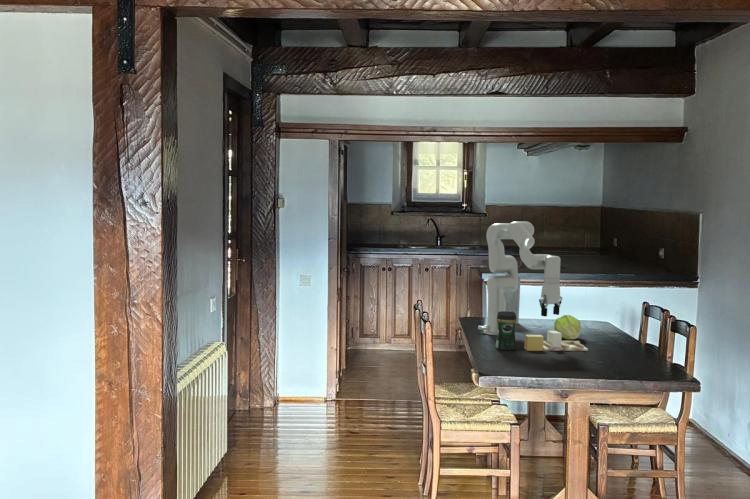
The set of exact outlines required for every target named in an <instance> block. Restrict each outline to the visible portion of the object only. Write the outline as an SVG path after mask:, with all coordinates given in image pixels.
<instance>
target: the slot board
mask: <svg viewBox="0 0 750 499" xmlns="http://www.w3.org/2000/svg"><path fill="white" fill-rule="evenodd" d="M543 351H548V352H549V351H550V352H551V351H561V352H562V351H564V352H565V351H567V352H568V351H569V352H571V351H573V352H574V351H575V352H577V351H579V352H580V351H581V352H584V351H585V352H588V351H589V348H587V347H585V345H584V344H581V341H580V340H561V347H552V345H550V344H549V343H547V340H543Z"/></svg>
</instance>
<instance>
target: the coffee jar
mask: <svg viewBox="0 0 750 499" xmlns="http://www.w3.org/2000/svg"><path fill="white" fill-rule="evenodd" d="M497 323H498V331H497V335H496V338H495V348H496V349H497V350H501V351H514V350H515V349H516V345H517V344H516V328H515V326H516V324H515V323H516V313H515V312H509V311H500V312H498V314H497Z"/></svg>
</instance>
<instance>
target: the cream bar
mask: <svg viewBox="0 0 750 499" xmlns="http://www.w3.org/2000/svg"><path fill="white" fill-rule="evenodd" d="M562 340H563V338H562V333H560V332H558V331H555V330H547V332H546V341H547V343H549V344H550V345H552V347H561V341H562Z"/></svg>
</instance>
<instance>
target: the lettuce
mask: <svg viewBox="0 0 750 499" xmlns="http://www.w3.org/2000/svg"><path fill="white" fill-rule="evenodd" d="M553 325H554V326H553V327H554V331H558V332H560V333H562V339H565V340H566V341H575V340H577V339H578V338H579V336H580V335H581V332H582V325H581V321H580V320H579V319H578V318H576V317H574V316H572V315H570V314H565V315H562V316H560V317H557V318H556V319H555V321H554V323H553Z"/></svg>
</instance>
